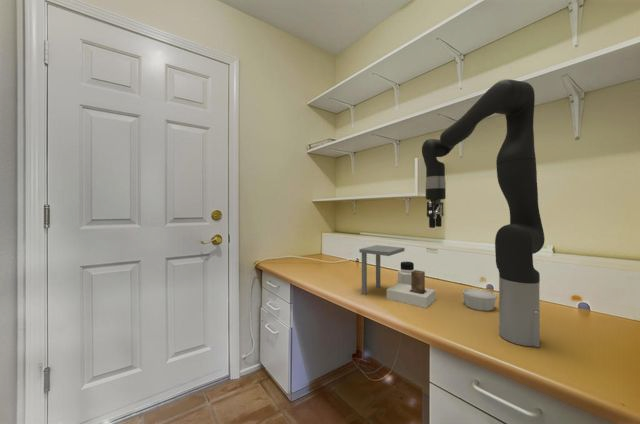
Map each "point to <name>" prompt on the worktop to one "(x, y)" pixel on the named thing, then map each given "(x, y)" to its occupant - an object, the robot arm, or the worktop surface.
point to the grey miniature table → (378, 251)
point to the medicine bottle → (405, 272)
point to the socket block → (411, 295)
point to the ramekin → (479, 299)
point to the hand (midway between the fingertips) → (435, 227)
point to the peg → (418, 282)
